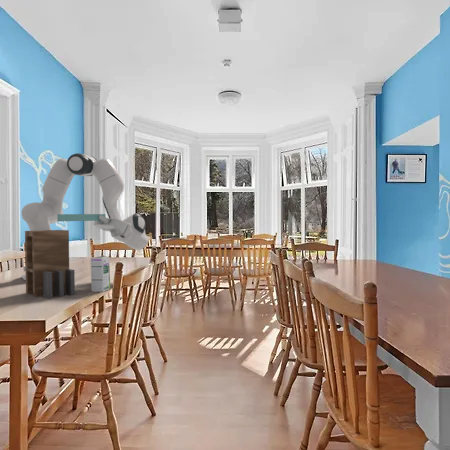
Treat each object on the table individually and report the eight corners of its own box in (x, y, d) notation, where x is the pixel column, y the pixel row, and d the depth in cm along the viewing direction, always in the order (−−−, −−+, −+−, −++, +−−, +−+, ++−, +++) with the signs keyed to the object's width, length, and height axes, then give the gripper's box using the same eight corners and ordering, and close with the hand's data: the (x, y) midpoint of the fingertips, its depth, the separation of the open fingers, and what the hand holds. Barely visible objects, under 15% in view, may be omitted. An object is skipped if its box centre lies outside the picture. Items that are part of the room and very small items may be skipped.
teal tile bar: (57, 221, 163) (57, 214, 163) (102, 220, 179) (102, 214, 179) (60, 221, 161) (60, 214, 161) (105, 220, 177) (105, 214, 177)
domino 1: (48, 298, 148) (47, 272, 147) (43, 296, 151) (42, 271, 151) (52, 297, 149) (51, 272, 148) (47, 296, 152) (46, 271, 152)
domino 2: (59, 296, 151) (59, 271, 151) (54, 294, 154) (54, 270, 154) (63, 296, 152) (63, 271, 152) (58, 294, 155) (58, 270, 155)
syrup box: (103, 292, 160) (103, 257, 159) (90, 291, 161) (90, 257, 160) (110, 289, 165) (109, 256, 165) (97, 289, 166) (97, 256, 166)
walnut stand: (26, 293, 158) (24, 230, 157) (59, 288, 168) (58, 229, 168) (35, 296, 151) (33, 231, 150) (69, 291, 161) (68, 230, 161)
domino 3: (70, 294, 154) (70, 270, 154) (65, 293, 157) (65, 269, 157) (74, 294, 155) (74, 270, 155) (69, 292, 159) (69, 268, 158)
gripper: (111, 224, 192) (88, 210, 183) (134, 225, 178) (110, 210, 169) (105, 235, 190) (82, 222, 181) (128, 237, 176) (104, 222, 167)
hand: (96, 216), depth 175 cm, fingers closed on teal tile bar, 3 cm apart
